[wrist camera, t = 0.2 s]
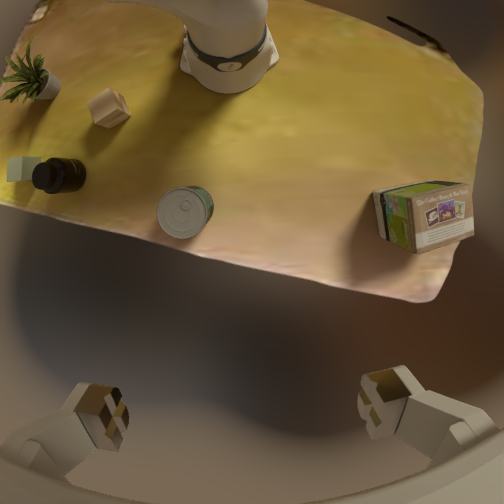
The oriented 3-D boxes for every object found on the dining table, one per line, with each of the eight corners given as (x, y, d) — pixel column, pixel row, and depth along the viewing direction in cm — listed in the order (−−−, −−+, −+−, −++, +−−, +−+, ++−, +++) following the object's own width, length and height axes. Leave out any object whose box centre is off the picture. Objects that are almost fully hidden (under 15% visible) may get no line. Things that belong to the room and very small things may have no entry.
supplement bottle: (91, 164, 50) (59, 162, 39) (81, 196, 52) (48, 201, 40) (67, 155, 50) (34, 152, 38) (58, 185, 51) (24, 189, 39)
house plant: (44, 56, 43) (5, 36, 27) (86, 56, 44) (47, 29, 28) (23, 111, 46) (-22, 101, 30) (63, 116, 47) (16, 103, 31)
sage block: (26, 158, 49) (8, 158, 42) (41, 157, 49) (22, 156, 42) (25, 180, 50) (6, 181, 43) (40, 179, 50) (21, 180, 44)
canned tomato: (201, 235, 55) (192, 248, 44) (165, 215, 54) (148, 224, 43) (221, 198, 53) (217, 202, 43) (184, 178, 52) (171, 177, 42)
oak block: (102, 109, 48) (86, 102, 41) (123, 96, 48) (109, 87, 41) (110, 128, 49) (94, 123, 42) (131, 115, 49) (117, 108, 42)
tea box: (378, 238, 57) (416, 257, 42) (371, 190, 54) (409, 195, 40) (433, 223, 56) (476, 236, 42) (427, 178, 54) (471, 182, 39)
